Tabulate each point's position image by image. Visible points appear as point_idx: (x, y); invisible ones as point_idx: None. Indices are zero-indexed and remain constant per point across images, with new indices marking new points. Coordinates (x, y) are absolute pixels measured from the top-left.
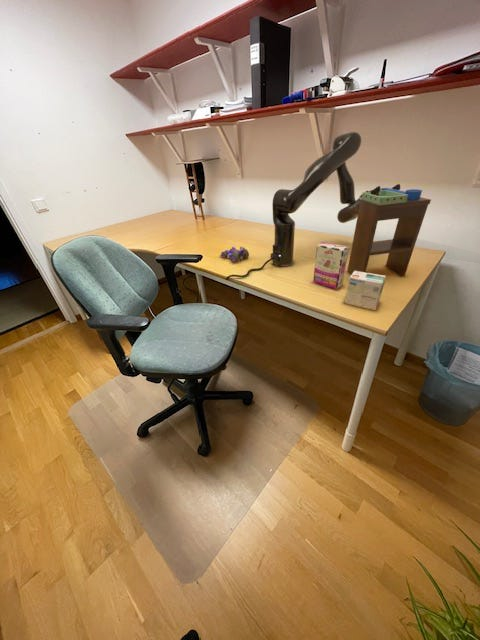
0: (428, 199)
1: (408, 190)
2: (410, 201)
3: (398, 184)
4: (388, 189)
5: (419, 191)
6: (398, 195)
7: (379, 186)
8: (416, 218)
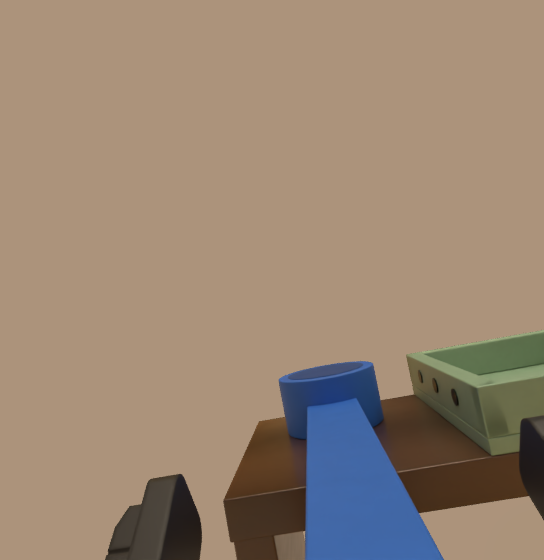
0: (268, 421)
1: (356, 366)
2: (383, 401)
3: (180, 474)
4: (386, 476)
5: (321, 366)
6: (464, 345)
7: (536, 418)
8: (302, 550)
